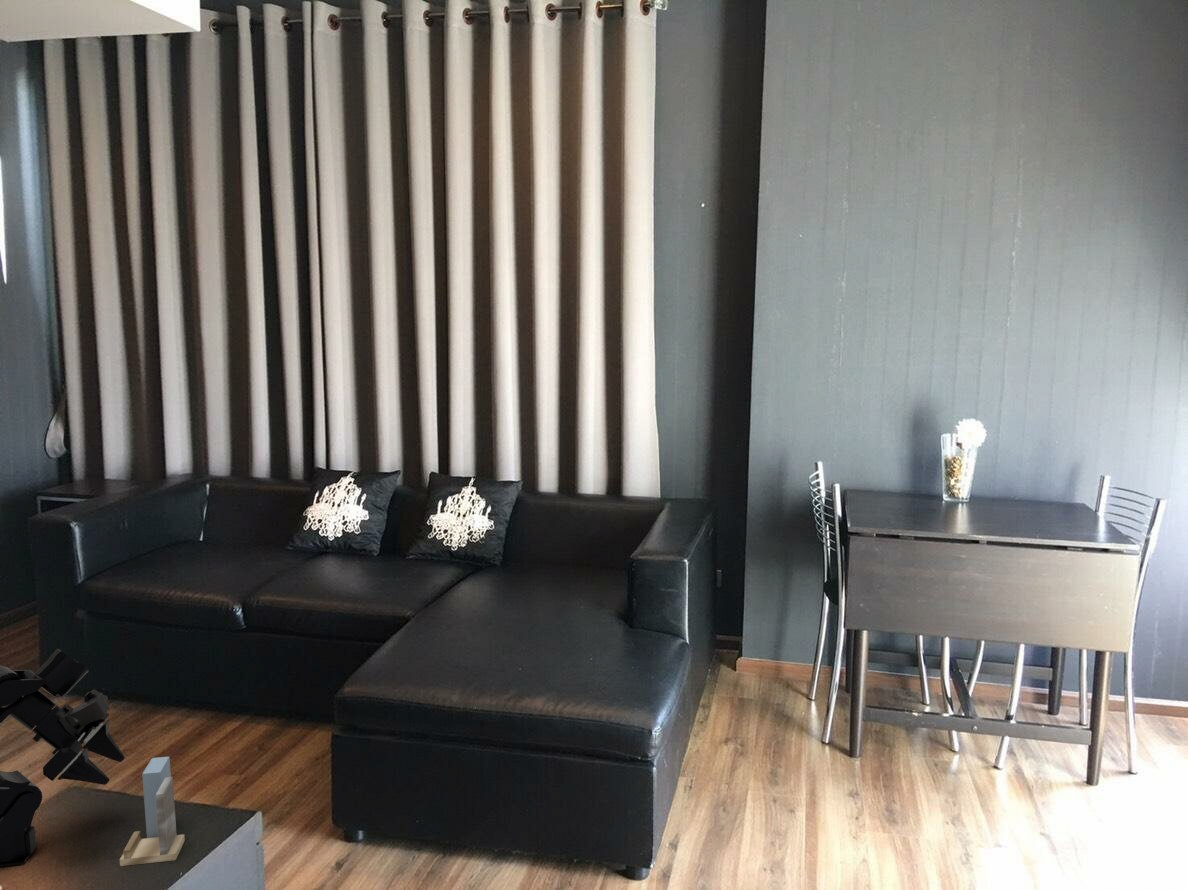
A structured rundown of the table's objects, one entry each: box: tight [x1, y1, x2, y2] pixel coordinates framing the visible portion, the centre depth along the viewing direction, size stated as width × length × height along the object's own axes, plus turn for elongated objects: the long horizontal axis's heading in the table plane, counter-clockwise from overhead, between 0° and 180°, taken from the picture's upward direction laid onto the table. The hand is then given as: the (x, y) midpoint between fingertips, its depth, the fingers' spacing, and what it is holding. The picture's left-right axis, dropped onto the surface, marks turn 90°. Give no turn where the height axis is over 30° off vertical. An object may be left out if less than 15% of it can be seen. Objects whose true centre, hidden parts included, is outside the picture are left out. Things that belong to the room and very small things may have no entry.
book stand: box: [119, 776, 186, 867], centre depth 166 cm, size 9×6×12 cm
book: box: [141, 756, 172, 838], centre depth 173 cm, size 3×6×13 cm, turn 11°
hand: (115, 770), depth 171 cm, fingers open, 9 cm apart
